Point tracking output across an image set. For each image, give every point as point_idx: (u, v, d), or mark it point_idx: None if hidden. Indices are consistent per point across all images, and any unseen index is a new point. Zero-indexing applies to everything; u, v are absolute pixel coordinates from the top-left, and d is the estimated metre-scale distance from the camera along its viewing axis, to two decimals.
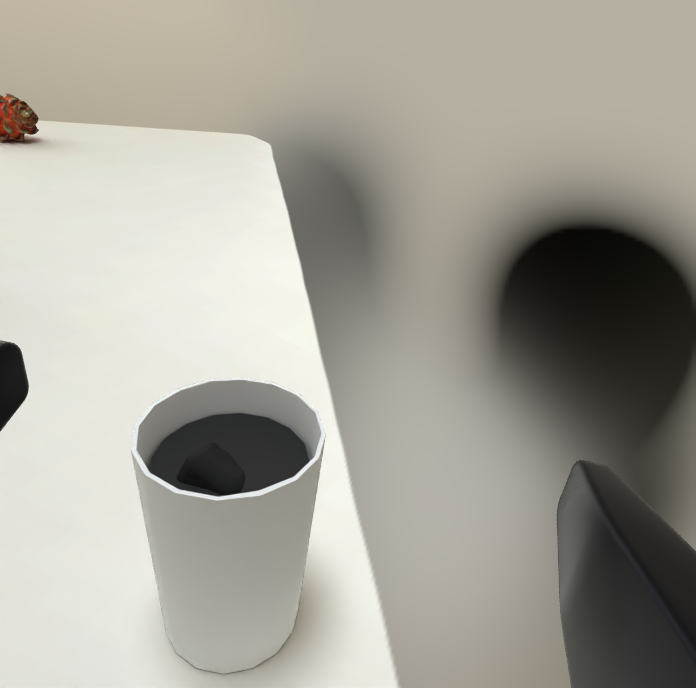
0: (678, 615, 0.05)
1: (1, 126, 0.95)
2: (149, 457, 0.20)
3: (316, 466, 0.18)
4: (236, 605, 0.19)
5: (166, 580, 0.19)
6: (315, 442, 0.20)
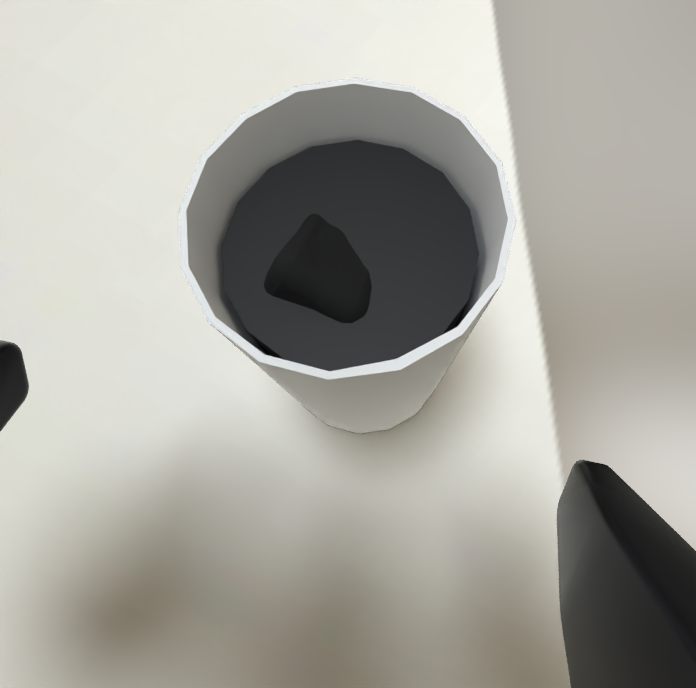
0: (678, 615, 0.05)
1: None
2: (219, 239, 0.12)
3: (496, 291, 0.10)
4: (368, 415, 0.15)
5: None
6: (491, 218, 0.11)
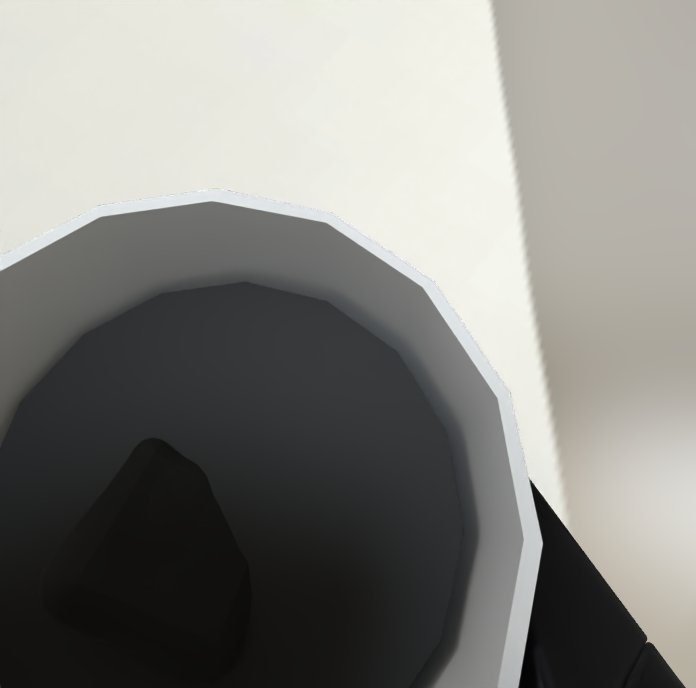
0: None
1: None
2: None
3: None
4: None
5: None
6: (486, 479, 0.06)
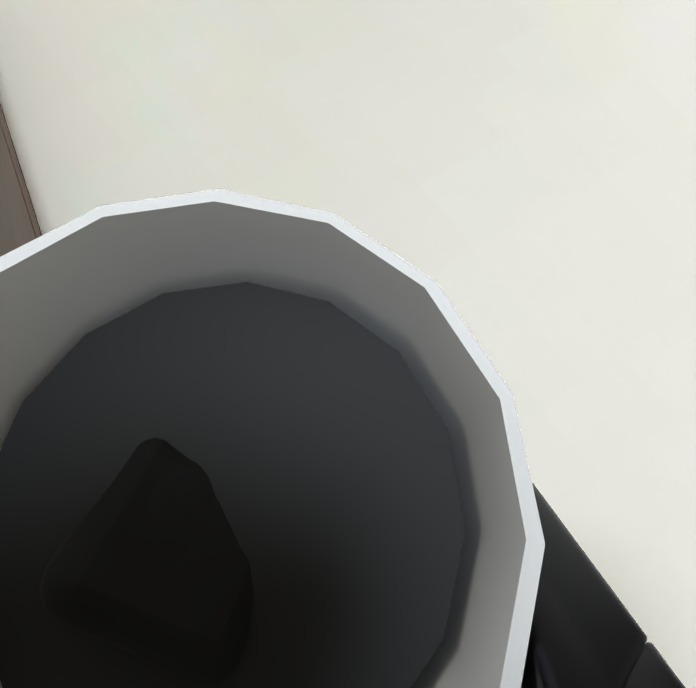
0: None
1: None
2: None
3: None
4: None
5: None
6: (488, 479, 0.06)
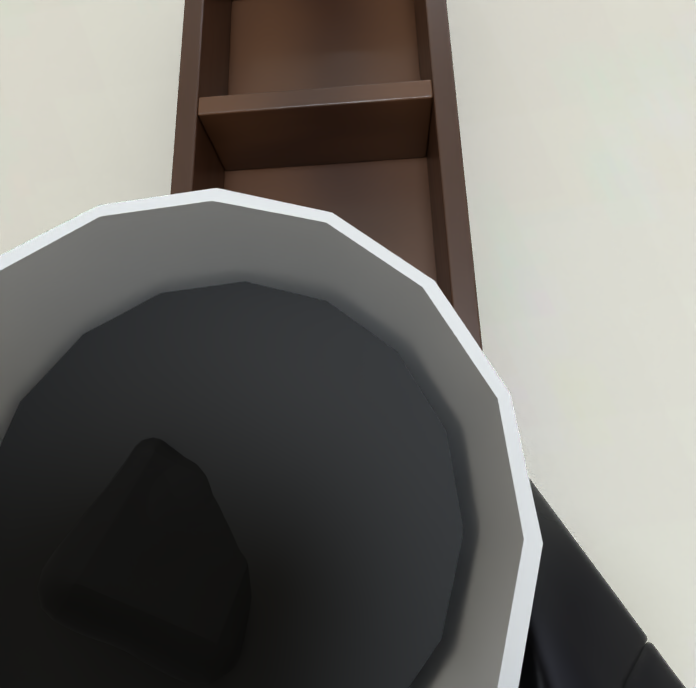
0: None
1: None
2: None
3: None
4: None
5: None
6: (487, 479, 0.06)
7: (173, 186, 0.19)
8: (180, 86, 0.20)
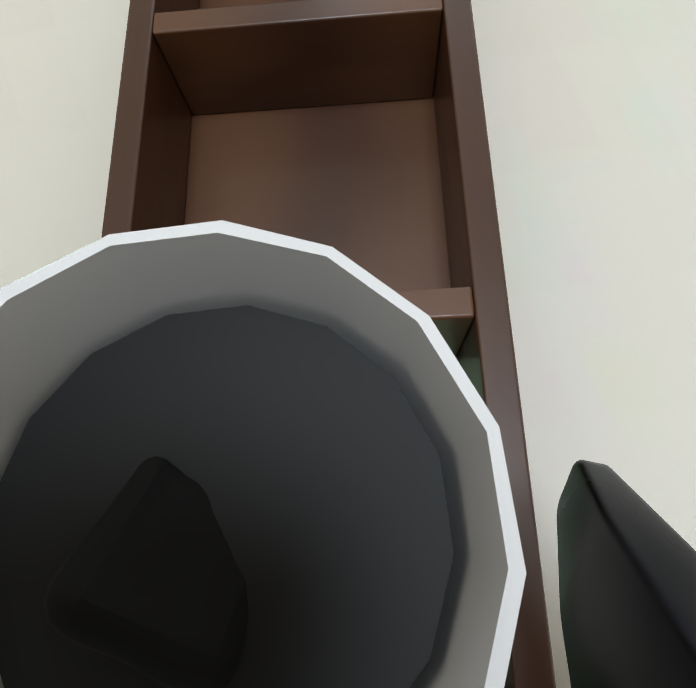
0: (678, 615, 0.05)
1: None
2: None
3: None
4: None
5: None
6: (476, 505, 0.06)
7: (119, 117, 0.15)
8: (132, 0, 0.16)
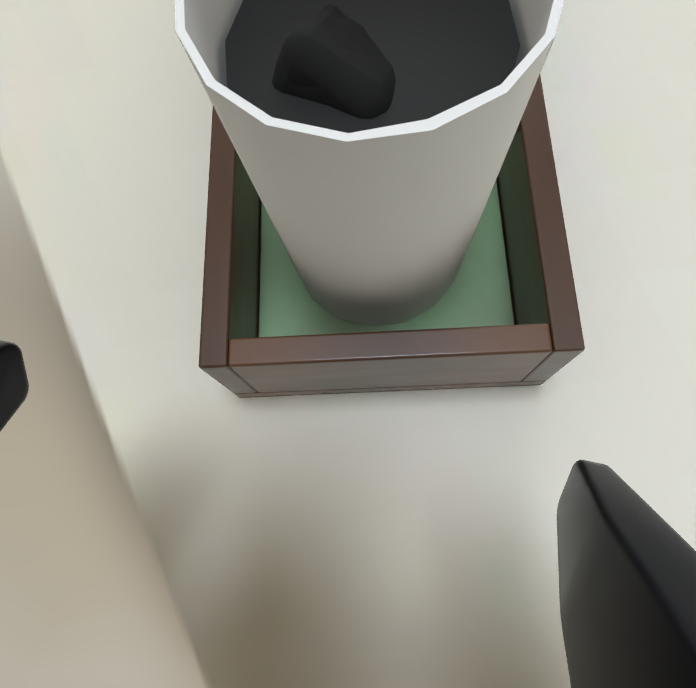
0: (678, 615, 0.05)
1: None
2: (222, 40, 0.11)
3: (545, 56, 0.09)
4: (385, 273, 0.13)
5: (284, 236, 0.14)
6: None
7: None
8: None
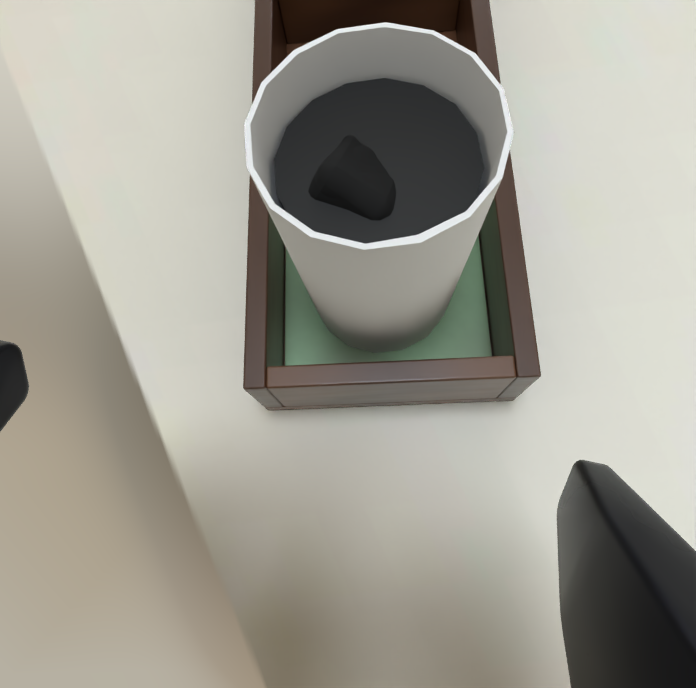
0: (678, 615, 0.05)
1: None
2: (271, 156, 0.15)
3: (496, 188, 0.13)
4: (387, 318, 0.18)
5: (310, 289, 0.18)
6: (494, 136, 0.14)
7: (256, 32, 0.23)
8: None
